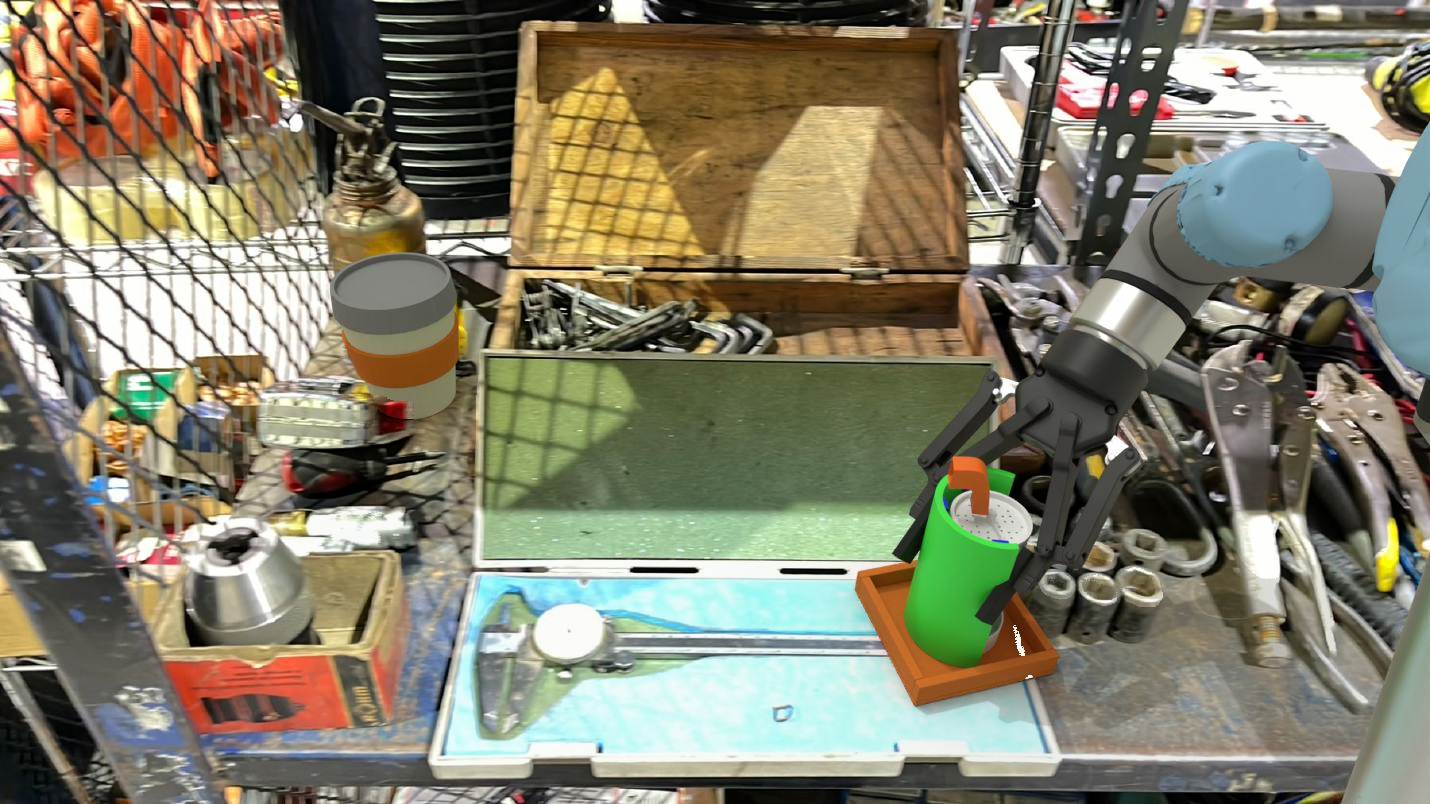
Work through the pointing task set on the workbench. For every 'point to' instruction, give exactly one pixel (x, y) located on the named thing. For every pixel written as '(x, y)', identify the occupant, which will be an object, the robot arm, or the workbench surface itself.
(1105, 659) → the workbench surface
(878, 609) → the shallow square tray
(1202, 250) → the robot arm
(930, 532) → the green-shelled ribbed roller
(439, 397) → the reusable coffee cup
